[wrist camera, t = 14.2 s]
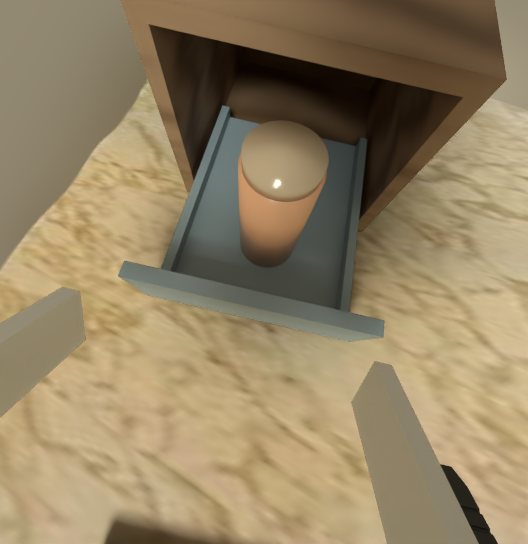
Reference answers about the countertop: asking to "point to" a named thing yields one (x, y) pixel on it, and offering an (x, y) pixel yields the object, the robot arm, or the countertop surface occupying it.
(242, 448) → the countertop surface
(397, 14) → the block
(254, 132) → the jar
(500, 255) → the countertop surface
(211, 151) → the tray
